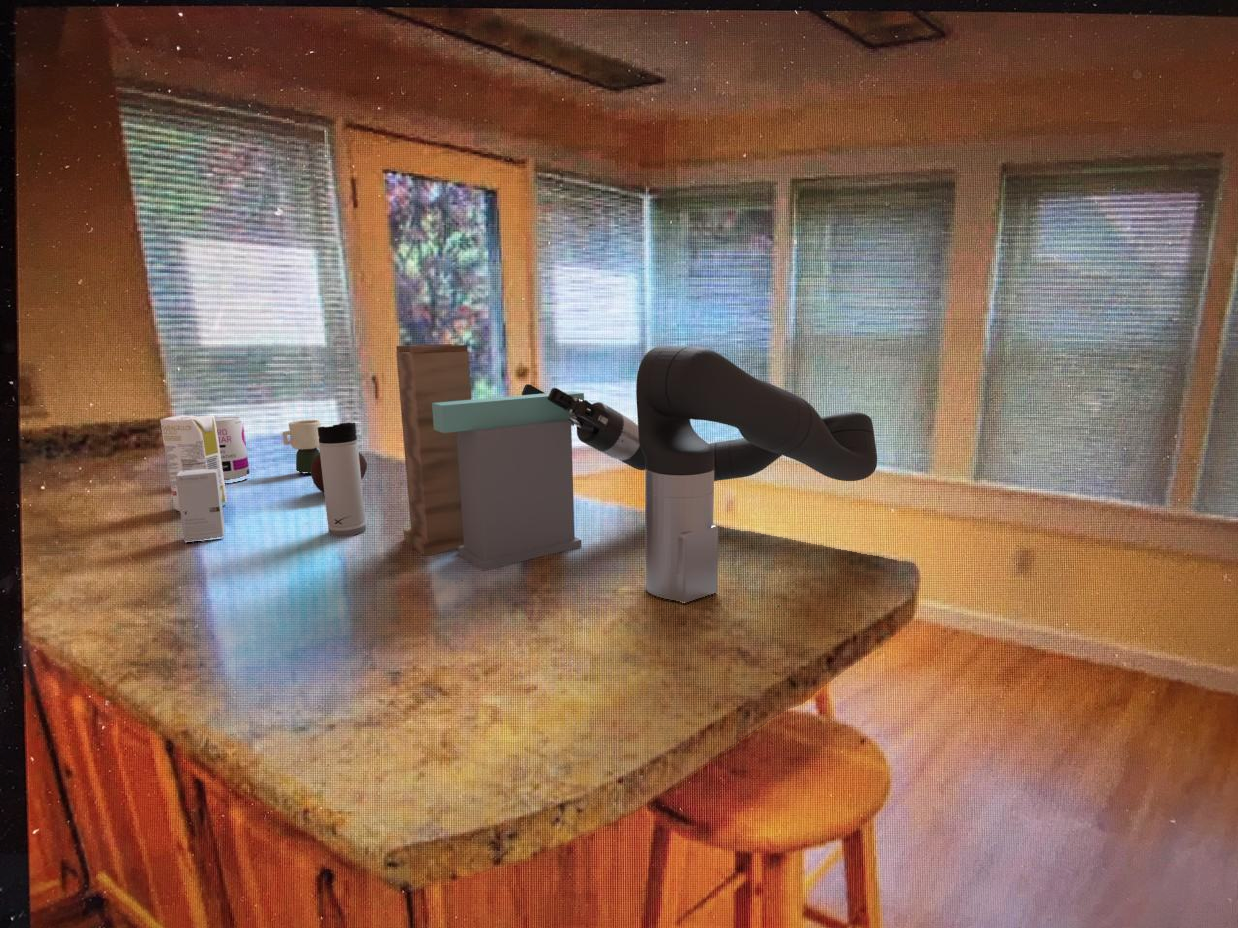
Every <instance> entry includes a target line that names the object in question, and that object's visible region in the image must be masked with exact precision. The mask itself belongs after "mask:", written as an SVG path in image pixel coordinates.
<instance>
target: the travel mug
mask: <svg viewBox="0 0 1238 928" xmlns="http://www.w3.org/2000/svg"><path fill="white" fill-rule="evenodd" d="M356 425H357V424H356V422H342V423H339V424H333V425H331V426H321V427H318V436H319V445H320V446H319V447H318V450H319V452H320V458H321V467H322V476H323V485H324V493H323V494H324V500H325V502H324V503H325V509H326V520H327V525H328V527H327V529H328V534H329V535H330V536H332V537H336V536H337V537H339V538H345V537H351V536H352V537H353V536H356V535H357V536H358V535H359V534H360V535H361V534H362V533H364V532H365V531H366V529H367V525H366V516H365V515H366V514H365V503H364V493H363V484H362V483H363V482H362V480H361V472H360V462H359V453H360V452H359V444H358V437H357V426H356Z"/></svg>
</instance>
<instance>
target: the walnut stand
mask: <svg viewBox="0 0 1238 928" xmlns="http://www.w3.org/2000/svg"><path fill="white" fill-rule="evenodd" d="M395 347H396V352H395V354H396V365H397V367H396V368H397V375H398V376H397V378H398V389H399V401H400V414H401V425H402V436H403V448H404V462H405V463H404V464H405V471H406V472H405V473H406V482H407V483H406V485H407V497H408V508H409V509H408V510H409V519H410V520H409V521H410V522H409V523H410V527H406V528H403V540H404V542H406V543H407V544H409V545H410V546H411V547H413V548H414V549H415V550H416V551H417V552H418V553H420V554H421V555H423V556H425V557H426V556H431V555H435V554H441V553H445V552H449V551H453V550H458V547H457V546H462V545H464V538H463V523H462V508H461V493H460V478H459V463H458V448H457V432H449V433H442V432H439V431H436V430H434V424H433V410H432V403H438V402H449V401H461V400H472V388H471V387H472V386H471V385H472V384H471V370H470V357H469V355H470V353H469V351H468V349H469V348H468V344H452V343H444V344H443V343H442V344H418V345H417V344H416V345H415V344H414V345H396V346H395Z"/></svg>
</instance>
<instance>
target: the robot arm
mask: <svg viewBox="0 0 1238 928" xmlns="http://www.w3.org/2000/svg"><path fill="white" fill-rule="evenodd" d="M635 384H636V386H635V389H636V390H635V396H636V398H635V399H636V412H637V413H636V414H637V423H635V422H634V421H633V420H632V419H631V418H629V417H627V416H625V415H624V414H622V413H621V412H619V411H617V410H615V409H614V408H612V407H611V406H609V405H607V404H605V403H604V402H600V401H599V402H597V401H596V402H594V403H590V402H589V401H588V400H586V399H584V400H580V399H579V398H577V397H576V398H575V397H571V396H569V395H568V394H566V393H564V392H565V391H563V390H562V389H560V388H556V387H552V388H551V390H550V391H549V393H550V394H549V396H548V400H549V401H550V402H552V403H554V404H556V405H557V406H559V407H561V408H563V409H565V410H567V411H568V412H569V413H570V419H566V420H569V421H571V427H574V426H576V435H577V438H578V440H579V441H580V442H581V443H584V444H585V445H587V446H589V447H591V448H593V449H595V450H596V451H598V452H599V453H601V454H604V455H605V456H608V457H610V458H612V459H616V460H618V461H621V462H622V463H624V464H626V465H628V466H629V467H632V468H633V469H635V470H638V471H644V486H645V487H644V500H645V501H644V505H645V506H644V508H645V509H644V510H645V511H644V512H645V513H644V515H645V517H644V520H645V521H644V523H645V525H644V526H645V527H644V528H645V531H644V532H645V535H644V536H645V540H644V541H645V542H644V543H645V545H644V547H645V553H644V554H645V590H646V591H647V592H648V593H649V594H650V593H651V594H653V595H655V596H658V597H661V598H666V599H671V600H679V601H681V602H688V601H692V600H695V599H698V598H701V597H704V598H706V597H705V596H707V595H710V596H712V595H711V594H713V595H715V594H714V593H716V594H718V587H719V586H718V585H719V584H718V583H719V582H718V580H719V578H718V577H719V570H718V569H719V526H717V525H714V508H715V507H714V502H715V501H714V494H715V482H718V481H724V480H725V481H726V480H732V479H734V480H735V479H742V478H747V477H751V476H753V475H756V474H758V473H760V472H761V471H763V470H765V469H766V468H768V467H769V466H770V465H771V464H773V463H774V462H775V461H776V460H778V459H780V458H781V457H782V456H784V457H786V458H789V459H792V460H795V461H797V462H799V463H801V464H803V465H806V466H807V467H809V468H811V469H812V470H814V471H815V472H817V473H819V474H820V475H823V476H825V477H827V478H830V479H833V480H836V481H842V482H858V481H861V480H865V479H866V478H869V477H870V476H872V475H873V474H874V472H875V471H876V469H877V466H878V452H877V444H876V438H875V430H874V424H873V420H872V418H871V417H870V416H869V415H867V414H866V413H863V412H858V411H856V412H855V411H847V412H839V413H834V414H830V415H826V416H820V414H819V413H818V412H817V410H816V409H815V408H814V406H813V405H811V404H810V403H809V402H808V401H807V400H805V399H804V398H802V397H800V396H798V395H797V394H794V393H792V392H791V391H788V390H786V389H784V388H781V387H779V386H778V385H777V386H776V385H774V384H772V383H770V382H767V381H765V380H762V379H759V378H756V377H755V376H753V375H751V374H749V373H748V372H746V371H745V370H743V369H742V368H741V367H739V366H738V365H737V364H735V363H733V362H732V361H730V360H729V359H728V358H726V357H725V356H724V355H722V354H721V353H719V352H717V351H715V350H714V349H711V348H708V347H704V346H699V345H698V346H694V345H660V346H658V345H657V346H656V347H653V348H652V349H650V350H649V351H647V352H646V354H645V355H644V356H643V358H642V359H641V362H640V363H639V367H638V371H637V375H636V383H635ZM544 393H545V392H544V391H543V390H540V388H539V389H538V388H536V387H535V386H533V385H532V384H528V383H527V384H525V385H524V387H523V389H522V392H521V395H532V394H544ZM572 398H573V399H572ZM691 420H696V421H707V422H711V423H713V422H714V423H718V424H723V425H727V426H730V427H733V428H736V429H738V431H739V433H740V435H741V436H742V437H743V438H737V439H731V440H723V441H717V442H709V443H708V442H707V441H706V440H705V439H703V438H702V437H700V436H699V435H698V434H697V432H696V431H695V430H694V428H693V426H692V423H691ZM651 594H650V595H651ZM653 595H652V596H653ZM655 596H654V597H655ZM658 597H657V598H658ZM707 597H708V596H707ZM661 598H660V599H661ZM701 599H702V598H701ZM671 600H670V601H671ZM698 600H699V599H698ZM695 601H696V600H695ZM681 602H680V603H681ZM692 602H693V601H692Z"/></svg>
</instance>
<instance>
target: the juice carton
mask: <svg viewBox="0 0 1238 928" xmlns="http://www.w3.org/2000/svg"><path fill="white" fill-rule="evenodd" d="M215 418H216V417H215V415H214V414H209V415H200V416H199V415H192V414H191V415H190V414H180V415H174V416H169V417H164V418H160V426H161V427H160V428H161V435H162V440H163V448H164V453H165V454H164V455H165V459H166V467H167V472H168V478H169V484H170V489H171V496H172V502H173V507H174V510H175V509H180V505H179V497H178V489H177V482H176V476H177V474H178V472H179V471H187V470H198V469H214V468H217V469H218V473H219V482H220V491H221V500H222V503H223V502H227V492H226V491H227V490H226V484H225V483H224V476H223V469H222V462H221V455H220V448H219V441H218V434H217V428H216V423H215Z"/></svg>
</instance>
